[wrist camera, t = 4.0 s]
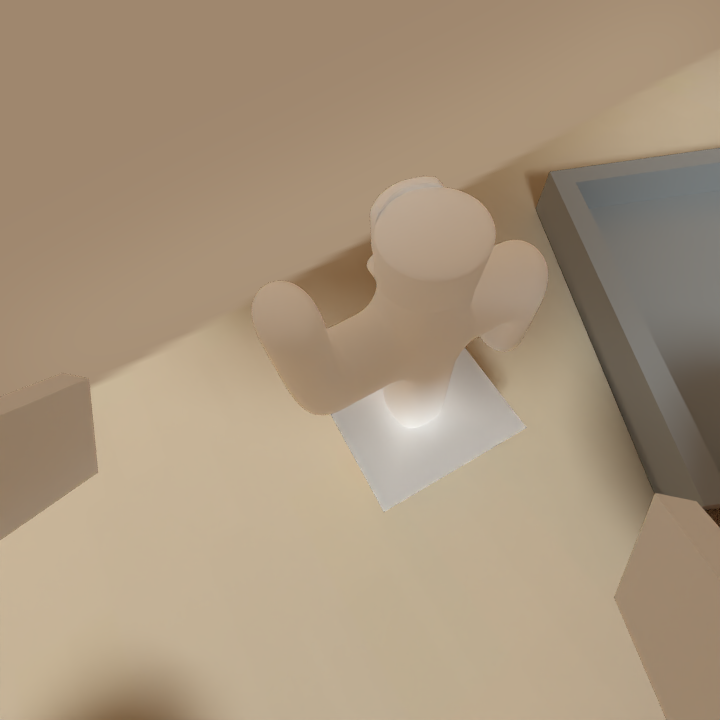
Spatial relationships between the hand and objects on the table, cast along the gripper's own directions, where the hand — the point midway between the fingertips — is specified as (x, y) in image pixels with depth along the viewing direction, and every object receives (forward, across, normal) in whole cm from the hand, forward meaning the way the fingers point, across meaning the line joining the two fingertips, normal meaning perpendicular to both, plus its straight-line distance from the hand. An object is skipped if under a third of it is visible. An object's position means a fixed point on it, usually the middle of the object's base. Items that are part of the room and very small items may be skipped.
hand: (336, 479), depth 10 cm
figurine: (+13, +1, -5) cm, 14 cm away
